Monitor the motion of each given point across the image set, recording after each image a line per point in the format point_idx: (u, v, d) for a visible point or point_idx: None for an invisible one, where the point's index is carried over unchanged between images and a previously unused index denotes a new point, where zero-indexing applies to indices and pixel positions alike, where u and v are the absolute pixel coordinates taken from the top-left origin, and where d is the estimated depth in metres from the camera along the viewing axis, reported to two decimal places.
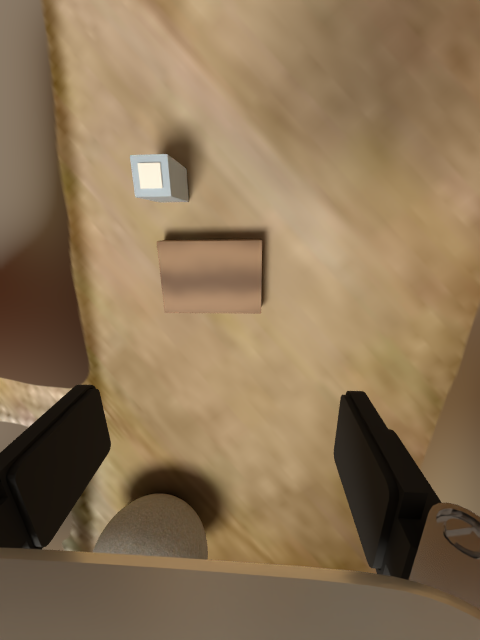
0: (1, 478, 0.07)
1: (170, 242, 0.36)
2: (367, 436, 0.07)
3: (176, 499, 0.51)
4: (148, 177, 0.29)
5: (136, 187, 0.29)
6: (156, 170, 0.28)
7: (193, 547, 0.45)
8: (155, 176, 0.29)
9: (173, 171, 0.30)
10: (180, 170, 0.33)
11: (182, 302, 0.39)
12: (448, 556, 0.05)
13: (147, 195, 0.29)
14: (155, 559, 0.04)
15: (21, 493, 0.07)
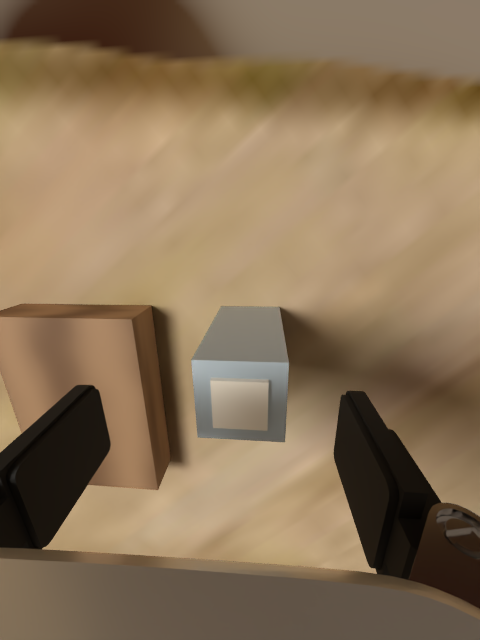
0: (1, 478, 0.07)
1: (133, 347, 0.17)
2: (367, 436, 0.07)
3: None
4: (234, 402, 0.11)
5: (214, 366, 0.11)
6: (250, 421, 0.12)
7: None
8: (237, 417, 0.12)
9: None
10: None
11: (16, 355, 0.18)
12: (448, 556, 0.05)
13: (196, 388, 0.12)
14: (155, 559, 0.04)
15: (21, 493, 0.07)
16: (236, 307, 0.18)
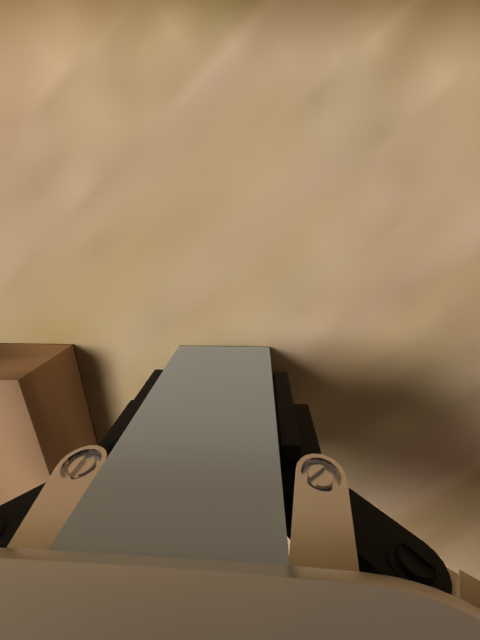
0: None
1: (28, 423, 0.10)
2: None
3: None
4: None
5: None
6: None
7: None
8: None
9: None
10: None
11: None
12: (313, 499, 0.06)
13: None
14: (155, 559, 0.04)
15: None
16: (202, 348, 0.12)
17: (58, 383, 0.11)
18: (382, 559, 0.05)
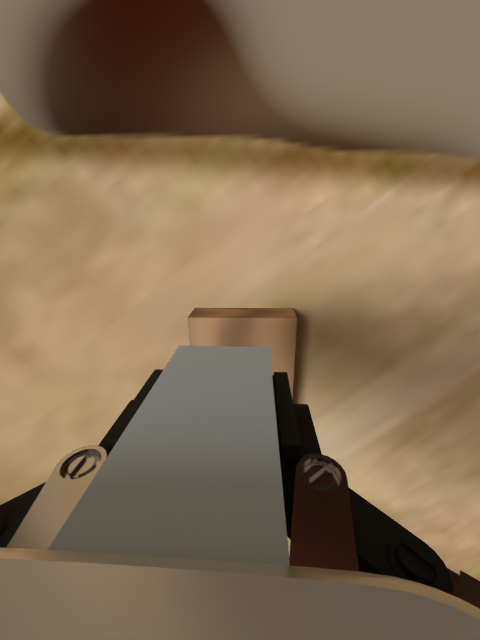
0: None
1: (294, 337, 0.25)
2: None
3: None
4: None
5: None
6: None
7: None
8: None
9: None
10: None
11: (206, 344, 0.26)
12: (313, 499, 0.06)
13: None
14: (155, 559, 0.04)
15: None
16: (202, 348, 0.12)
17: None
18: (382, 559, 0.05)
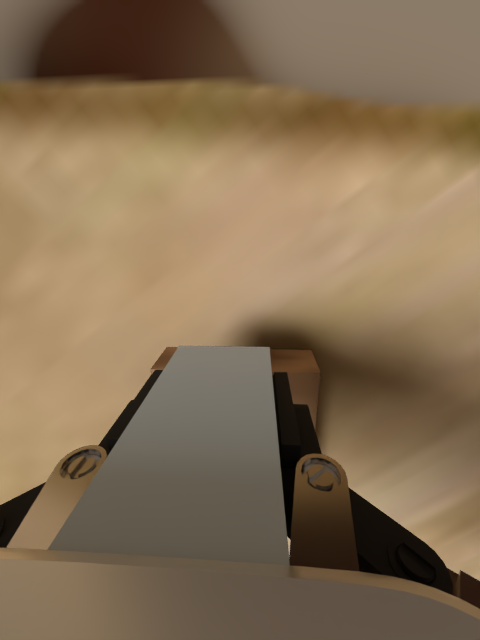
0: None
1: (315, 400, 0.16)
2: None
3: None
4: None
5: None
6: None
7: None
8: None
9: None
10: None
11: None
12: (313, 499, 0.06)
13: None
14: (155, 559, 0.04)
15: None
16: (202, 348, 0.12)
17: None
18: (382, 559, 0.05)
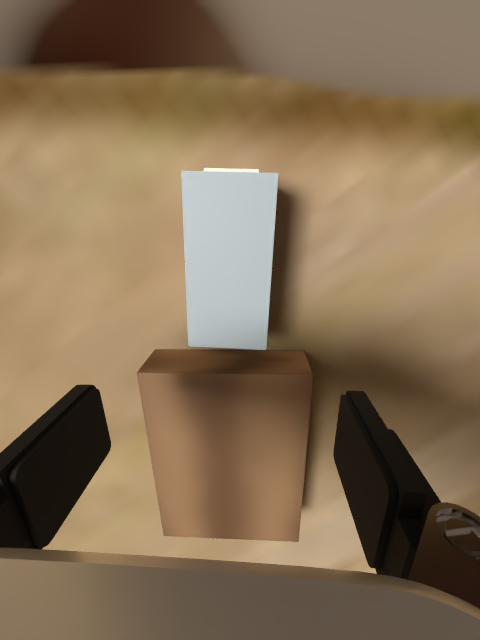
0: (1, 478, 0.07)
1: (308, 403, 0.16)
2: (367, 436, 0.07)
3: None
4: None
5: None
6: None
7: None
8: None
9: (243, 220, 0.12)
10: (255, 288, 0.13)
11: (169, 412, 0.16)
12: (448, 556, 0.05)
13: None
14: (155, 559, 0.04)
15: (21, 493, 0.07)
16: None
17: None
18: None
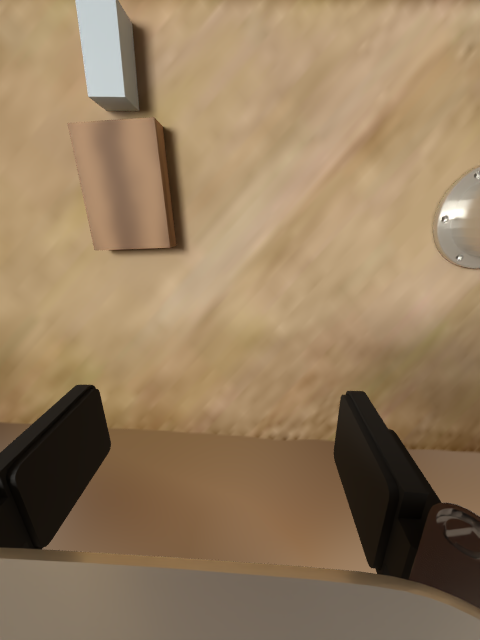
0: (1, 478, 0.06)
1: (155, 136, 0.30)
2: (367, 436, 0.07)
3: None
4: None
5: None
6: None
7: None
8: None
9: (104, 21, 0.27)
10: (114, 59, 0.28)
11: (86, 149, 0.31)
12: (448, 556, 0.05)
13: None
14: (155, 559, 0.04)
15: (21, 493, 0.07)
16: None
17: (160, 134, 0.32)
18: None
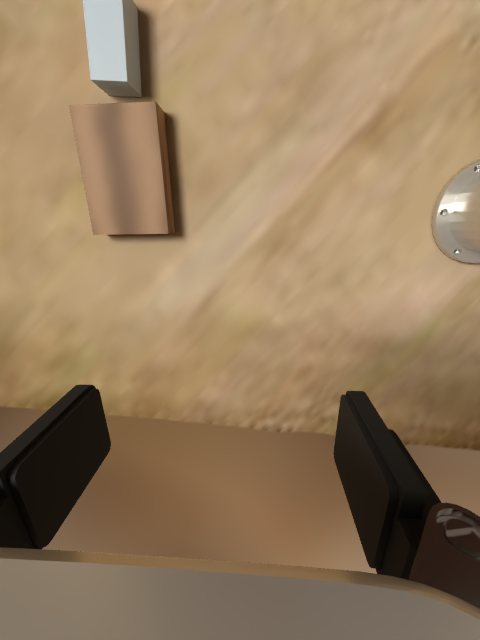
0: (1, 478, 0.07)
1: (156, 121, 0.31)
2: (367, 436, 0.07)
3: None
4: None
5: None
6: None
7: None
8: None
9: (109, 4, 0.27)
10: (117, 43, 0.28)
11: (87, 132, 0.31)
12: (448, 556, 0.05)
13: None
14: (155, 559, 0.04)
15: (21, 493, 0.07)
16: None
17: (161, 119, 0.32)
18: None
